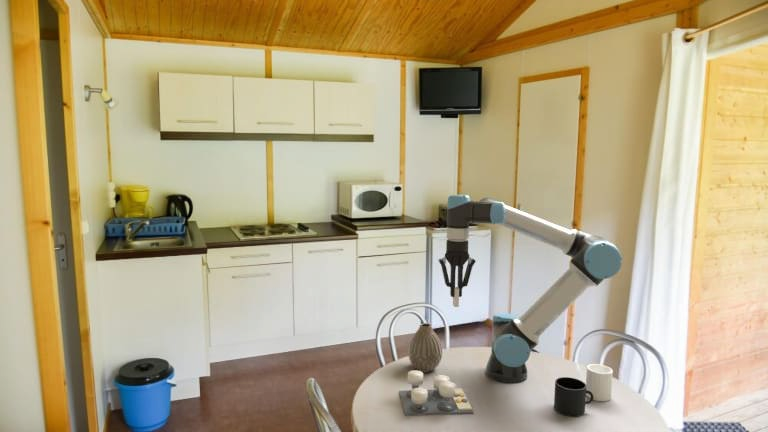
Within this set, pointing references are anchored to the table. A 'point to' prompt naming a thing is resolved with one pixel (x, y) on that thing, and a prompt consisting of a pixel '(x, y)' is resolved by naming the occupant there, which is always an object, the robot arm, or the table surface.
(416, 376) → the button
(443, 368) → the table surface
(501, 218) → the robot arm
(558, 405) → the mug
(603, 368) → the mug
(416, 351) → the vase
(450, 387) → the button
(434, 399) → the board
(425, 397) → the button
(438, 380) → the button
